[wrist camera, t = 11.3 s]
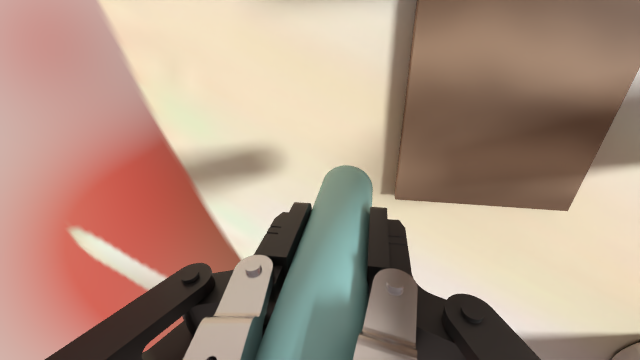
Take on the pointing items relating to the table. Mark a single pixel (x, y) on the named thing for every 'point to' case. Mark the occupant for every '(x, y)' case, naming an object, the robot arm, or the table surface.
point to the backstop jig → (512, 98)
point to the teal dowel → (326, 276)
